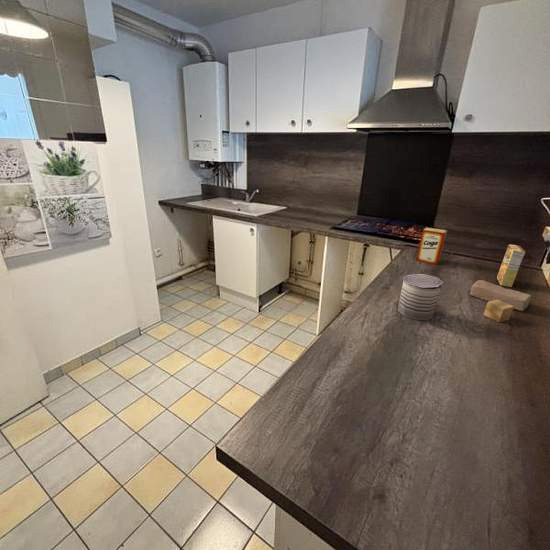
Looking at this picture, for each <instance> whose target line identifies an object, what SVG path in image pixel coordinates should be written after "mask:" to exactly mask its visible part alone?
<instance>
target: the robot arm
mask: <svg viewBox="0 0 550 550" xmlns="http://www.w3.org/2000/svg"><path fill="white" fill-rule="evenodd" d="M543 239H544V245H545V246H546V248H547V251H548V252H547V255H546V257H545V265H550V233H546V234H543Z"/></svg>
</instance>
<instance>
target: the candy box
mask: <svg viewBox="0 0 550 550" xmlns="http://www.w3.org/2000/svg"><path fill="white" fill-rule="evenodd" d="M525 255H526V250H525V249H523V247H522V246H521V245H516V244H508V245H507V248H506V251H505V254H504V257H503V260H502V261H501V265H500V268H499V271H498V273H497V276H496V280H497V281H498V284H499V286H501V287H508V288H513V285H514V283H515V280H516V277H517V275H518V272H519V270H520V268H521V265H522V262H523V259H524V257H525Z"/></svg>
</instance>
